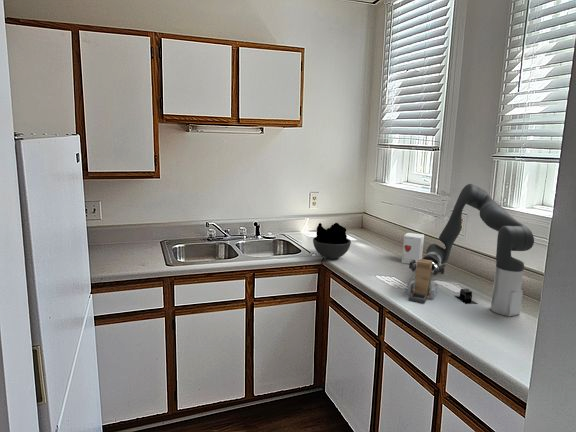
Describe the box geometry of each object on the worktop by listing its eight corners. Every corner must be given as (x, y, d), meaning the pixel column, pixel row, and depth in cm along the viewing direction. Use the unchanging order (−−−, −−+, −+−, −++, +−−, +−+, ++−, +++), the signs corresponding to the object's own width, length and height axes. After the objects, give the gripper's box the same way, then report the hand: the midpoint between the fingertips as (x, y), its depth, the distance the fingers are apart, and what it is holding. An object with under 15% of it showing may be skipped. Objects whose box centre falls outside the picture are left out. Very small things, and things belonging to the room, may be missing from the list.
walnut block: (417, 290, 180) (420, 258, 177) (429, 292, 177) (432, 260, 175) (414, 294, 175) (417, 261, 173) (426, 296, 173) (429, 263, 170)
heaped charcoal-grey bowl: (355, 257, 229) (357, 223, 226) (340, 266, 212) (342, 229, 209) (322, 251, 239) (323, 218, 236) (305, 259, 222) (307, 224, 219)
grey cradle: (412, 288, 184) (413, 279, 183) (437, 293, 179) (438, 284, 178) (407, 294, 176) (408, 285, 175) (433, 299, 171) (434, 290, 171)
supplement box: (400, 262, 222) (403, 235, 219) (404, 258, 230) (407, 232, 227) (418, 265, 218) (421, 237, 215) (421, 261, 225) (424, 234, 223)
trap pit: (412, 295, 175) (412, 292, 174) (427, 298, 172) (427, 295, 172) (408, 300, 170) (409, 296, 169) (424, 303, 167) (424, 300, 166)
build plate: (482, 306, 167) (483, 295, 167) (465, 307, 166) (466, 296, 166) (464, 295, 180) (466, 284, 179) (448, 295, 178) (449, 285, 178)
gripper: (415, 251, 191) (407, 259, 177) (449, 256, 185) (442, 265, 171) (414, 267, 193) (405, 276, 179) (447, 272, 186) (440, 283, 172)
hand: (423, 271), depth 175 cm, fingers open, 8 cm apart
